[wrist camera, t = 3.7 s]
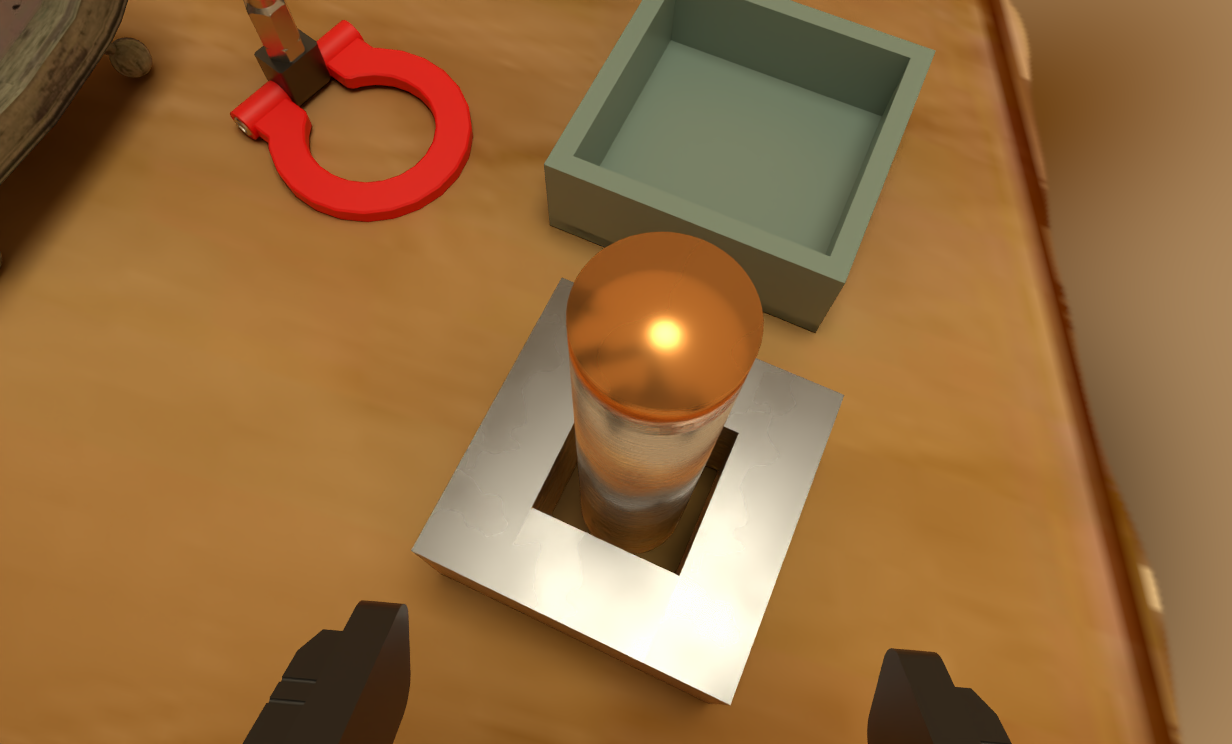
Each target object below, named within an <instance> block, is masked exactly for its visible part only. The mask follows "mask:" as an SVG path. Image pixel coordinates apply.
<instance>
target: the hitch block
mask: <svg viewBox="0 0 1232 744" xmlns="http://www.w3.org/2000/svg"><path fill="white" fill-rule="evenodd" d="M573 284H574V282H571V281H569V280H566V279H564V278H561V280H560V282H559V284H558V286H557V287H556V289H555V291H554V293H553V295H552V296H551V298H550V300H549V302H548V304H547V305H546V307H545V309H544V311H543V313H542V315H541V316H540V318H539V320H538V322H537V324H536V325H535V327H534V329H533V331H532V333H531V334H530V336H529V338H528V340H527V342H526V344H525V345H524V347H523V349H522V351H521V353H520V354H519V356H518V358H517V360H516V362H515V363H514V365H513V367H512V369H511V371H510V373H509V374H508V376H507V378H506V380H505V382H504V383H503V385H502V387H501V389H500V391H499V393H498V394H497V396H496V398H495V400H494V402H493V403H492V405H491V407H490V409H489V411H488V412H487V414H486V416H485V418H484V420H483V422H482V423H481V425H480V427H479V429H478V431H477V432H476V434H475V436H474V438H473V440H472V441H471V443H470V445H469V447H468V449H467V451H466V452H465V454H464V456H463V458H462V460H461V461H460V463H459V465H458V467H457V469H456V470H455V472H454V474H453V476H452V478H451V480H450V481H449V483H448V485H447V487H446V489H445V490H444V492H443V494H442V496H441V498H440V499H439V501H438V503H437V505H436V507H435V509H434V510H433V512H432V514H431V516H430V518H429V519H428V521H427V523H426V525H425V527H424V528H423V530H422V532H421V534H420V536H419V538H418V539H417V541H416V543H415V545H414V547H413V548H412V550H411V551H412V552H414V553H415V554H416V555H418V556H419V557H420V558H421V559H423V560H424V561H425V562H427V563H428V564H429V565H430V566H432V567H433V568H434V569H435V570H437V571H438V572H439V573H441V574H443V575H445V576H447V577H449V578H451V579H453V580H456V581H458V582H460V583H462V584H464V585H466V586H468V587H470V588H472V589H474V590H476V591H478V592H480V593H482V594H484V595H486V596H488V597H491V598H493V599H495V600H497V601H499V602H501V603H503V604H505V605H507V606H509V607H511V608H513V609H515V610H517V611H519V612H521V613H523V614H526V615H528V616H530V617H532V618H534V619H536V620H538V621H540V622H542V623H544V624H546V625H548V626H550V627H552V628H554V629H556V630H559V631H561V632H563V633H565V634H567V635H569V636H571V637H573V638H575V639H577V640H579V641H581V642H583V643H585V644H587V645H589V646H591V647H594V648H596V649H598V650H600V651H602V652H604V653H606V654H608V655H610V656H612V657H614V658H616V659H618V660H620V661H622V662H624V663H626V664H629V665H631V666H633V667H635V668H637V669H639V670H641V671H643V672H645V673H647V674H649V675H651V676H653V677H655V678H657V679H659V680H662V681H664V682H666V683H668V684H670V685H672V686H674V687H676V688H678V689H680V690H682V691H684V692H686V693H688V694H690V695H692V696H694V697H697V698H699V699H701V700H703V701H705V702H707V703H710V704H724V705H731V702H732V699H733V696H734V694H735V691H736V688H737V685H738V683H739V680H740V677H741V675H742V672H743V669H744V666H745V664H746V661H747V658H748V656H749V653H750V650H751V647H752V645H753V642H754V639H755V636H756V634H757V631H758V628H759V626H760V623H761V620H762V617H763V615H764V612H765V609H766V607H767V604H768V601H769V598H770V596H771V593H772V590H773V587H774V585H775V582H776V579H777V577H778V574H779V571H780V568H781V566H782V563H783V560H784V558H785V555H786V552H787V549H788V547H789V544H790V541H791V538H792V536H793V533H794V530H795V528H796V525H797V522H798V519H799V517H800V514H801V511H802V509H803V506H804V503H805V500H806V498H807V495H808V492H809V489H810V487H811V484H812V481H813V479H814V476H815V473H816V470H817V468H818V465H819V462H820V460H821V457H822V454H823V451H824V449H825V446H826V443H827V440H828V438H829V435H830V432H831V430H832V427H833V424H834V421H835V419H836V416H837V413H838V411H839V408H840V405H841V402H842V400H843V397H844V395H843V394H840V393H838V392H836V391H833V390H831V389H828V388H826V387H824V386H821V385H819V384H816V383H814V382H812V381H809V380H807V379H804V378H802V377H800V376H797V375H795V374H792V373H790V372H788V371H785V370H783V369H780V368H778V367H776V366H773V365H771V364H768V363H766V362H763V361H761V360H759V359H755V361H754V363H753V365H752V367H751V369H750V371H749V373H748V376H747V378H746V380H745V382H744V384H743V386H742V388H741V390H740V393H739V395H738V397H737V399H736V401H735V403H734V405H733V407H732V410H731V412H730V414H729V416H728V418H727V420H726V422H725V424H724V427H723V429H722V431H721V433H720V435H719V437H718V439H717V441H716V444H715V446H714V448H713V450H712V452H711V454H710V456H709V458H708V461H707V463H706V466H708V467H710V468H713V469H715V470H717V471H718V473H717V475H716V478H715V480H714V483H713V485H712V487H711V490H710V492H709V495H708V497H707V499H706V502H705V504H704V507H703V509H702V511H701V514H700V516H699V519H698V521H697V523H696V526H695V528H694V531H693V533H692V535H691V538H690V540H689V543H688V545H687V547H686V550H685V552H684V555H683V557H682V559H681V562H680V564H679V567H678V569H677V571H676V574H674V573H672V572H670V571H668V570H665V569H663V568H661V567H659V566H657V565H655V564H652V563H650V562H648V561H646V560H644V559H642V558H639V557H637V556H635V555H633V554H631V553H629V552H627V551H624V550H622V549H620V548H618V547H616V546H614V545H611V544H609V543H607V542H605V541H603V540H601V539H599V538H596V537H594V536H592V535H590V534H588V533H586V532H583V531H581V530H579V529H577V528H575V527H573V526H570V525H568V524H566V523H564V522H562V521H560V520H558V519H555V518H553V517H551V515H552V513H553V511H554V509H555V507H556V505H557V503H558V501H559V499H560V497H561V495H562V493H563V491H564V489H565V487H566V485H567V483H568V480H569V478H570V476H571V474H572V472H573V470H574V468H575V466H576V464H577V462H578V461H577V449H576V437H575V425H574V412H573V400H572V388H571V376H570V364H569V352H568V340H567V328H566V309H567V302H568V298H569V295H570V291H571V288H572V286H573Z"/></svg>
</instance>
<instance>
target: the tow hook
mask: <svg viewBox="0 0 1232 744" xmlns="http://www.w3.org/2000/svg"><path fill="white" fill-rule="evenodd" d="M243 1H244V4H245V7H246V10H247V12H248V15H249V17H250V19H251V21H252V23H253V25H254V27H255V29H256V31H257V33H258V35H259V37H260V39H261V41H262V43H263V45H264V46H263V47H261V48H260V49H259V50H258V51H256V52H255V54H254V55H255V57H256V59H257V61H258V63H259V64H260V66H261V68H262V70H263V72H264V74H265V76H266V78H267V80H268V82H267V83H266V84H264V85H263V86H262V87H261V88H260V89H258V90H257V91H256V92H255V93H254V94H252V95H251V96H250V97H249V98H247V99H246V100H245V101H244V102H243V103H241V104H240V105H239V106H238V107H237V108H235V109H234V110H233V111H232V112H231V113H230V115H231V117H232V119H233V120H234V122H235V123H236V125H237V126H238V127H239V128H240V129H241V130H242V131H243V132H244V133H245V134H247V135H248V136H249V137H251V138H252V139H254V140H256V139H257V138H258V137H259V136H260V137H261V138H262V139H264V140H265V141H266V142H268V143H269V151H270V154H271V156H272V159H273V162H274V164H275V167H276V170H277V171H278V173H279V175H280V177H281V178H282V180H283V181H284V182H285V183H286V184H287V186H288V187H289V188H290V189H291V191H292V192H293V193H294V194H295V196H296V197H298V198H299V199H301V200H302V201H303V202H305V203H306V204H308V205H309V206H311V207H312V208H314V209H315V210H317V211H320V212H322V213H325V214H328V215H331V216H334V217H336V218H339V219H345V220H354V221H364V222H371V221H379V220H387V219H394V218H397V217H400V216H403V215H406V214H408V213H411V212H414V211H417V210H419V209H421V208H423V207H424V206H426V205H427V204H429V203H430V202H432V201H434V200H435V199H437V198H438V197H440V196H441V195H442V194H443V193H444V192H445V191H446V190H447V189H448V188H449V187H450V186H451V185H452V184H453V183H454V182H455V181H456V180H457V179H458V177H459V176H460V174H461V172H462V170H463V168H464V166H465V164H466V162H467V161H468V159H469V155H470V150H471V144H472V139H473V133H472V125H471V118H470V112H469V106H468V104H467V102H466V100H465V98H464V96H463V94H462V92H461V90H460V88H459V86H458V85H457V84H456V83H455V82H454V81H453V80H452V79H451V78H450V76H449V75H448V74H447V73H446V72H445V71H444V70H442V69H441V68H439V67H437V66H436V65H434V64H433V63H431V62H430V61H428V60H426V59H425V58H422V57H419V56H416V55H413V54H410V53H407V52H404V51H400V50H391V49H382V48H373V47H371V46H370V45H368V44H367V43H365V42H364V40H363V38H362V36H361V35H360V33H359V32H358V31H357V30H356V28H355V27H354V26H353V25H351V24H350V23H349V22H347V21H345V20H342V21H341V22H340V23H338V24H337V25H336V26H335V27H333V28H332V29H331V30H330V31H329V32H327V33H326V34H325V35H324V36H323V37H321V38H320V39H319V40H318V41H314V40H313V39H312V38H310V37H309V36H307V35H306V34H305V33H303V32H302V31H301V30H299V29H298V28H297V26H296V24H295V22H294V19H293V17H292V15H291V12H290V10H289V8H288V5H287V3H286V1H285V0H243ZM330 76H332V77H333V78H335V79H336V80H337V81H339V82H340V83H342V84H343V85H344V86H346V87H347V88H354V89H355V88H358V87H361V86H370V85H385V86H394V87H397V88H400V89H403V90H406V91H408V92H410V93H412V94H413V95H415V96H416V97H418V98H419V99H421V100H422V101H423V102H424V103H425V104H426V105H427V107H428V108H429V109H430V110H431V112H432V114H433V116H434V118H435V123H436V130H435V135H434V139H433V142H432V144H431V146H430V148H429V150H428V152H427V153H426V155H425V156H424V157H423V158H422V159H421V160H420V161H419V162H418V163H417V164H416V165H415V166H414V167H412V168H411V169H409V170H407V171H406V172H404V173H403V174H401V175H399V176H396V177H393V178H390V179H387V180H384V181H375V182H357V181H348V180H346V179H343V178H340V177H337V176H334V175H332V174H331V173H329V172H328V171H326V170H325V169H323V168H322V167H320V166H319V164H318V163H317V162H316V161H315V160H314V158H313V157H312V155H311V152H310V147H309V134H310V131H311V127H312V125H311V122H310V120H309V117H308V115H307V113H306V111H304V110H303V109H302V108H300V106H301V105H302V104H303V103H304V102H305V101H307V100H308V99H309V98H310V97H311V96H312V95H314V94H315V93H316V92H317V91H318V90H320V89H321V88H322V87H323V86H324V85H325V84H327V83H328V82H329V81H330Z"/></svg>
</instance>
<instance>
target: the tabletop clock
mask: <svg viewBox="0 0 1232 744" xmlns="http://www.w3.org/2000/svg"><path fill="white" fill-rule="evenodd" d="M127 2H128V0H0V185H1V184H2V183H3V182H4V181H5V180H6V178H7V177H8V176H9V175H10V174H11V173H12V172H13V171H14V170H15V169H16V167H17V166H18V165H19V164H20V163H21V162H22V161H23V160H24V159H25V157H26V156H27V155H28V154H29V153H30V152H31V151H32V150H33V149H34V148H35V146H36V145H37V144H38V143H39V142H40V141H41V140H42V139H43V138H44V137H45V135H46V134H47V133H48V132H49V131H50V130H51V129H52V128H53V127H54V126H55V124H56V123H57V122H58V121H59V119H60V118H61V116H62V115H63V113H64V112H65V110H66V109H67V107H68V106H69V104H70V103H71V102H72V100H73V99H74V97H75V96H76V94H77V93H78V91H79V90H80V88H81V87H82V85H83V84H84V83H85V81H86V80H87V78H88V77H89V75H90V74H91V72H92V71H93V69H94V68H95V66H96V65H97V63H98V62H99V61H100V59H101V58H102V56H103V54H106V55H109V58H110V61H111V63H112V65H113V67H114V68H115V69H116V70H117V71H118V72H120V73H121V74H122V75H125V76H128V77H141V76H144V75H146V74H147V73H148V72H149V71H150V68H151V66H152V58H151V55H150V53H149V51H148V49H147V48H146V46H145V45H144V44H143V43H141V42H140V41H139V40H136V39H133V38H120V39H117V40H115V41H114V42H113V43H111V42H112V40H113V38H114V36H115V34H116V32H117V30H118V27H119V25H120V23H121V21H122V18H123V15H124V12H125V8H126V5H127ZM1 265H2V256H1V252H0V267H1Z"/></svg>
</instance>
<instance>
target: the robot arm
mask: <svg viewBox="0 0 1232 744" xmlns="http://www.w3.org/2000/svg"><path fill="white" fill-rule="evenodd" d="M409 687H410V647H409V620H408V609H407V606H406V605H405V604H398V603H387V602H376V601H364V600H362V601H360V602H359V603H358V604H357V606H356V607H355V609H354V611H353V613H352V615H351V617H350V619H349V621H348V622H347V624H346V626H345V628H344V630H343V631H336V630H324V629H323V630H322V631H321V632H319V633H318V634H317V635H316V636H315V637H313V638H312V639H311V640H310V641H309V642H307V643H306V644H305V645H304V646H302V647H301V648H300V649H299V650H298V651H297V652H296V654H295V656H294V657H293V659H292V661H291V662H290V664H289V666H288V668H287V669H286V671H285V673H284V674H283V676H282V681H281V682H279V683H278V685H277V686H276V688H275V690H274V691H273V693H272V695H271V696H270V700H269V703H266V705H265V707H264V708H263V710H262V712H261V713H260V715H259V717H258V718H257V720H256V722H255V724H254V725H253V727H252V729H251V730H250V732H249V734H248V735H247V737H246V739H245V741H244V742H243V744H393V741H394V739H395V736H396V733H397V731H398V728H399V725H400V723H401V720H402V717H403V715H404V711H405V708H406V704H407V700H408V694H409ZM867 738H868V744H1012V743H1011V741H1010V739H1009V738H1008V736H1007V734H1006V732H1005V730H1004V728H1003V726H1002V724H1001V722H1000V720H999V718H998V716H997V714H996V713H995V712H994V711H993V710H992V709H991V708H990V707H989V706H988V705H987V704H986V703H985V702H984V701H983V700H982V699H981V698H980V697H979V696H978V695H977V694H976V693H975V692H974V691H973V690H972V689H971V688H961V687H955V686H954V684H953V682H952V680H951V678H950V675H949V673H948V671H947V669H946V667H945V665H944V663H943V661H942V659H941V657H940V656H939V655H938V654H937V653H935V652H926V651H915V650H904V649H892V648H891V649H889V650H888V651H887V652H886V654H885V656H884V660H883V664H882V667H881V671H880V675H879V679H878V683H877V687H876V691H875V694H874V698H873V702H872V706H871V710H870V714H869V718H868V728H867Z"/></svg>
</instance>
